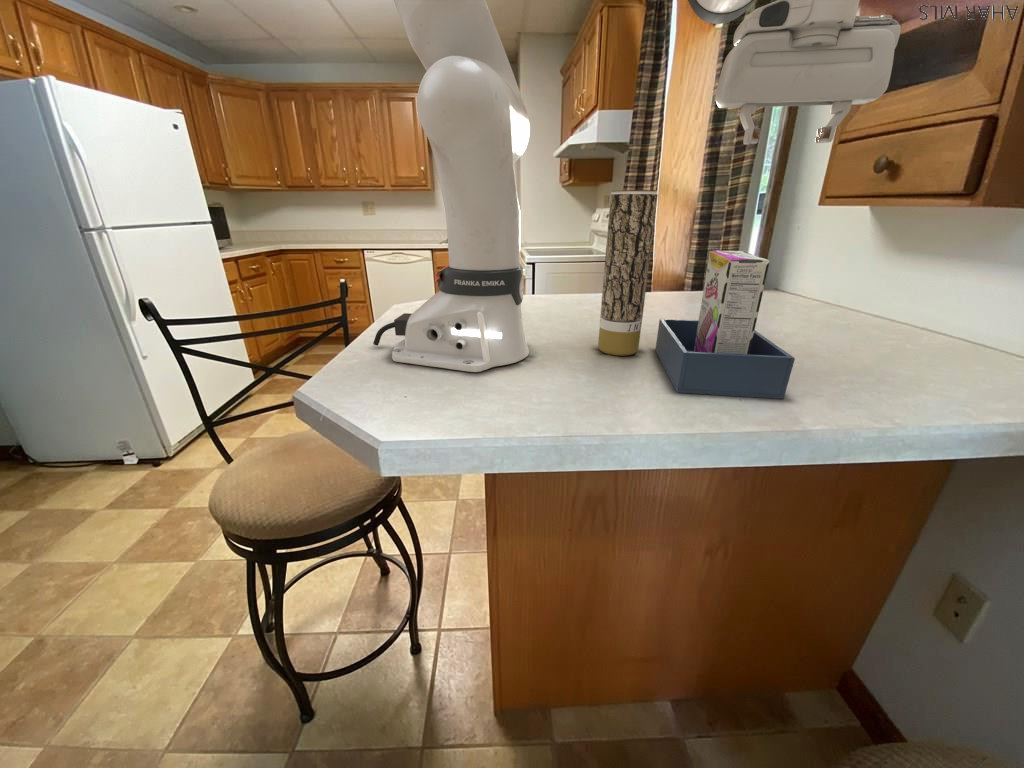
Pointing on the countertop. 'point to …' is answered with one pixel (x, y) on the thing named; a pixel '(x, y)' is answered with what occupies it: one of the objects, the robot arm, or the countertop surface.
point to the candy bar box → (730, 302)
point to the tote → (721, 364)
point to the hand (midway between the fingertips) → (786, 143)
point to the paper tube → (626, 269)
